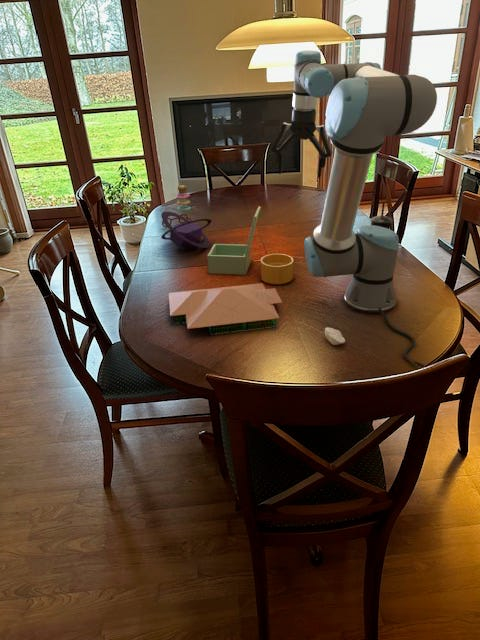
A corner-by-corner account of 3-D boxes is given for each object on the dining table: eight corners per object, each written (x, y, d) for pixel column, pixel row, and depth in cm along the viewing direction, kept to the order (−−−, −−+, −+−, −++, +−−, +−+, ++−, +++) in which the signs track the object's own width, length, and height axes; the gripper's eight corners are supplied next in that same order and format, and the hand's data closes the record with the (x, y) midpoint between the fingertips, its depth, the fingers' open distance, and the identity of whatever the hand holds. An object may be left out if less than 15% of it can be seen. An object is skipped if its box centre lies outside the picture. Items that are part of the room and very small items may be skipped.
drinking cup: (388, 258, 165) (396, 205, 155) (367, 257, 167) (373, 204, 156) (386, 250, 172) (394, 199, 161) (366, 250, 173) (372, 198, 163)
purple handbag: (213, 256, 173) (209, 192, 160) (159, 259, 172) (150, 195, 159) (213, 236, 192) (208, 177, 179) (164, 239, 191) (156, 180, 178)
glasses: (187, 222, 210) (186, 212, 207) (200, 230, 200) (200, 219, 198) (162, 228, 204) (160, 218, 201) (174, 236, 194) (173, 225, 192)
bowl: (291, 286, 148) (292, 267, 145) (259, 285, 150) (258, 265, 146) (293, 272, 157) (294, 254, 154) (262, 271, 159) (262, 253, 156)
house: (288, 326, 126) (289, 301, 122) (172, 340, 122) (168, 315, 118) (270, 291, 145) (270, 268, 141) (170, 302, 141) (167, 278, 137)
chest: (208, 273, 159) (207, 255, 156) (215, 260, 169) (214, 243, 166) (245, 274, 157) (245, 256, 154) (250, 261, 167) (250, 244, 164)
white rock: (319, 338, 121) (321, 325, 120) (336, 339, 122) (339, 325, 121) (330, 348, 114) (333, 334, 113) (348, 348, 116) (351, 334, 114)
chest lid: (254, 216, 146) (256, 217, 146) (258, 206, 156) (260, 206, 156) (244, 255, 154) (246, 256, 154) (249, 243, 163) (251, 243, 163)
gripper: (346, 107, 139) (337, 174, 153) (269, 102, 146) (267, 167, 159) (342, 113, 134) (334, 182, 147) (263, 108, 140) (262, 174, 153)
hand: (299, 174), depth 153 cm, fingers open, 13 cm apart
